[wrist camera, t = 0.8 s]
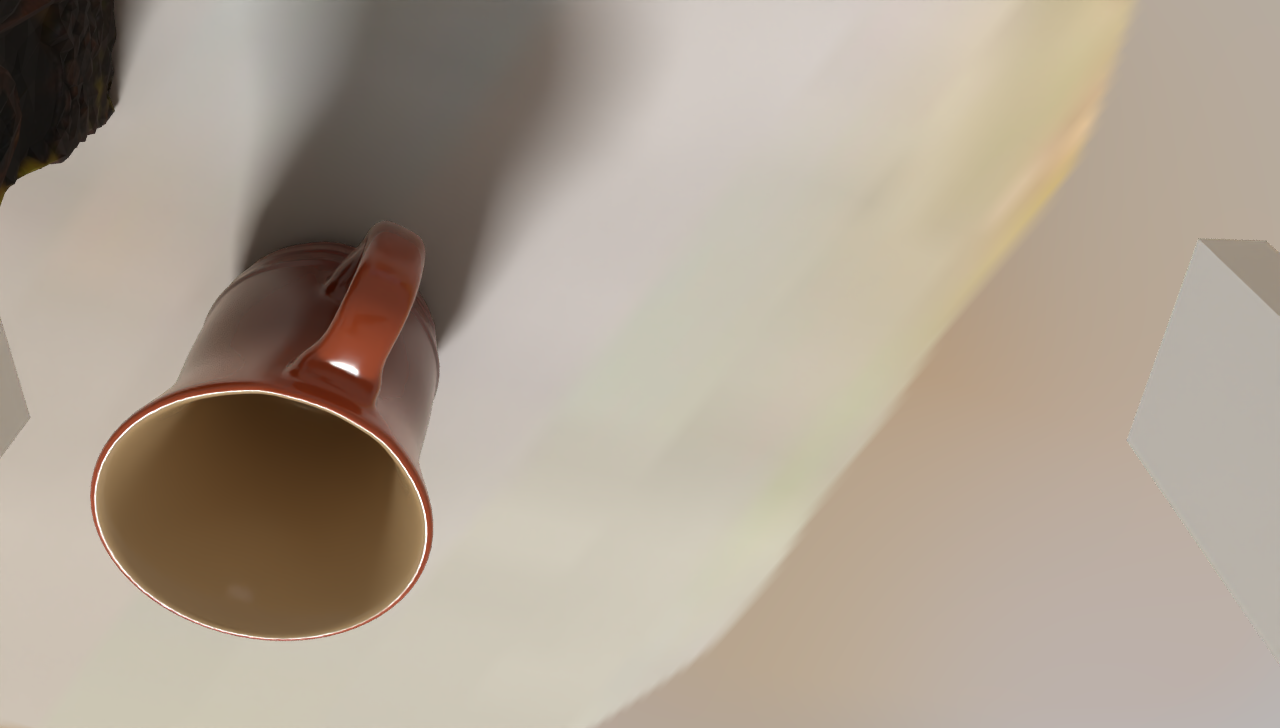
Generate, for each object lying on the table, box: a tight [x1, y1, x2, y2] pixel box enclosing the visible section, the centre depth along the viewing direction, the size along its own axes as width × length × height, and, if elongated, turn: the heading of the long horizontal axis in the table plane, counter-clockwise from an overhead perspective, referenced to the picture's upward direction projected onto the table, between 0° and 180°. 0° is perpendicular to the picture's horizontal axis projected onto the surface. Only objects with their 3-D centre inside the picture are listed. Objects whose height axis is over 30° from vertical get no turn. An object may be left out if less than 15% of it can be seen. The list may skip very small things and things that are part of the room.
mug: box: [90, 221, 439, 641], centre depth 33 cm, size 12×9×10 cm
